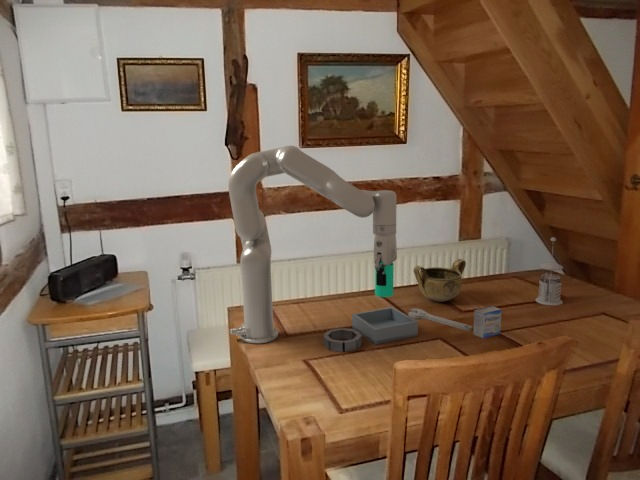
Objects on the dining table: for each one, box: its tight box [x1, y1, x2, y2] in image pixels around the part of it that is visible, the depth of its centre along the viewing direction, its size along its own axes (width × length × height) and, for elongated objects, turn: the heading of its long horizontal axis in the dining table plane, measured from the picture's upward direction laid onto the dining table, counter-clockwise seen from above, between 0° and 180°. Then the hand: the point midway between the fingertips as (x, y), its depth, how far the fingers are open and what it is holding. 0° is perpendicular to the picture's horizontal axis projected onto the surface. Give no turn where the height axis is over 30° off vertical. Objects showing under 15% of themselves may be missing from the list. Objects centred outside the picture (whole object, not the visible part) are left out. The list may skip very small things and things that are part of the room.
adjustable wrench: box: [408, 308, 473, 332], centre depth 196 cm, size 25×6×2 cm, turn 41°
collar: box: [322, 327, 363, 353], centre depth 179 cm, size 12×12×3 cm
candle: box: [374, 262, 395, 298], centre depth 184 cm, size 6×6×12 cm
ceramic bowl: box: [413, 258, 467, 303], centre depth 218 cm, size 22×17×15 cm
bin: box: [351, 306, 419, 345], centre depth 188 cm, size 16×16×5 cm
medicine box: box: [473, 305, 502, 340], centre depth 184 cm, size 8×4×9 cm, turn 118°
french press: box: [534, 237, 564, 306], centre depth 212 cm, size 10×12×25 cm
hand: (384, 282), depth 185 cm, fingers closed on candle, 5 cm apart
